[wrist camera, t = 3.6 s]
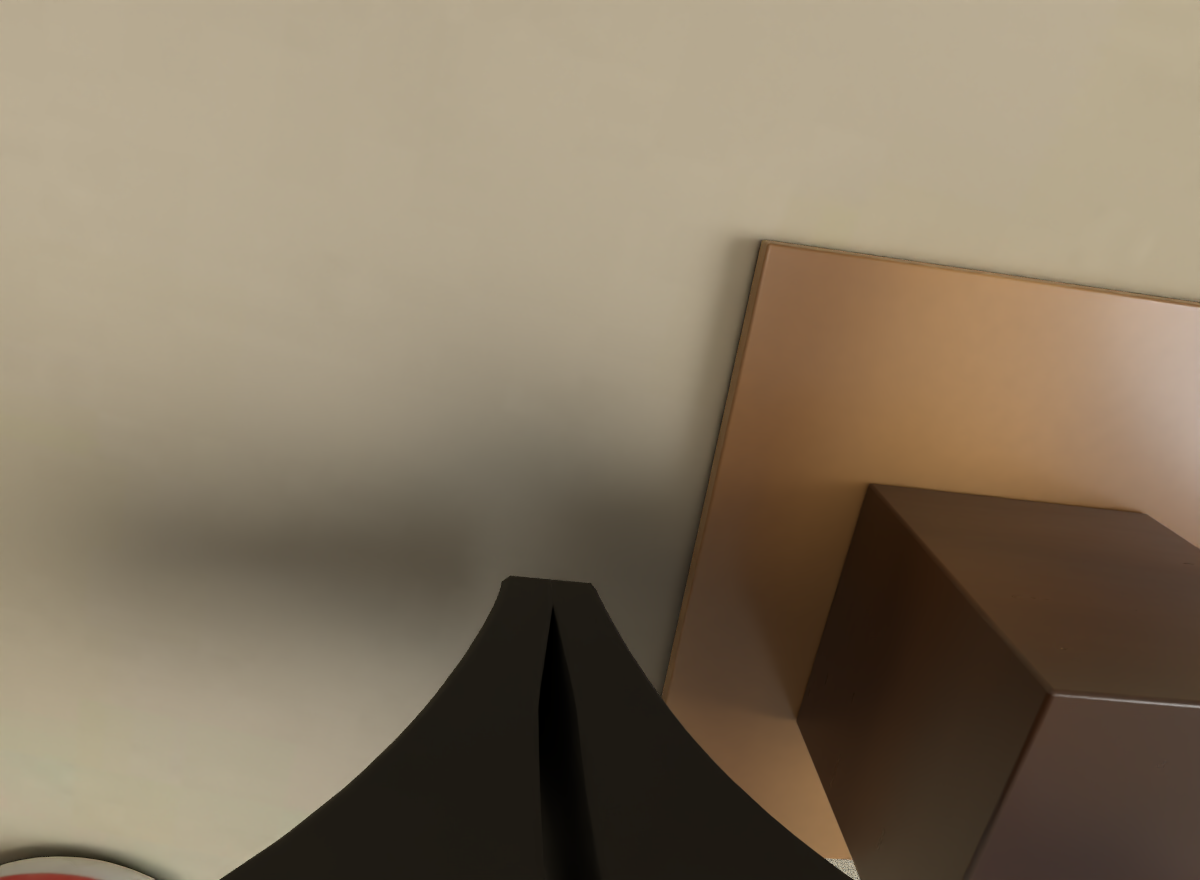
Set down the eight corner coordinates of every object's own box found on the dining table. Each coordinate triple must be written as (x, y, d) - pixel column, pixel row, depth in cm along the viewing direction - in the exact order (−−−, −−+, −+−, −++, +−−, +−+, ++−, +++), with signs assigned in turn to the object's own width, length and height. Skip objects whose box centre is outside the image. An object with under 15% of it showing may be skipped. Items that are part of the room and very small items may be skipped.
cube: (794, 721, 14) (909, 1004, 10) (867, 481, 13) (1050, 691, 8) (1042, 739, 15) (1261, 1016, 10) (1147, 512, 13) (1472, 726, 8)
